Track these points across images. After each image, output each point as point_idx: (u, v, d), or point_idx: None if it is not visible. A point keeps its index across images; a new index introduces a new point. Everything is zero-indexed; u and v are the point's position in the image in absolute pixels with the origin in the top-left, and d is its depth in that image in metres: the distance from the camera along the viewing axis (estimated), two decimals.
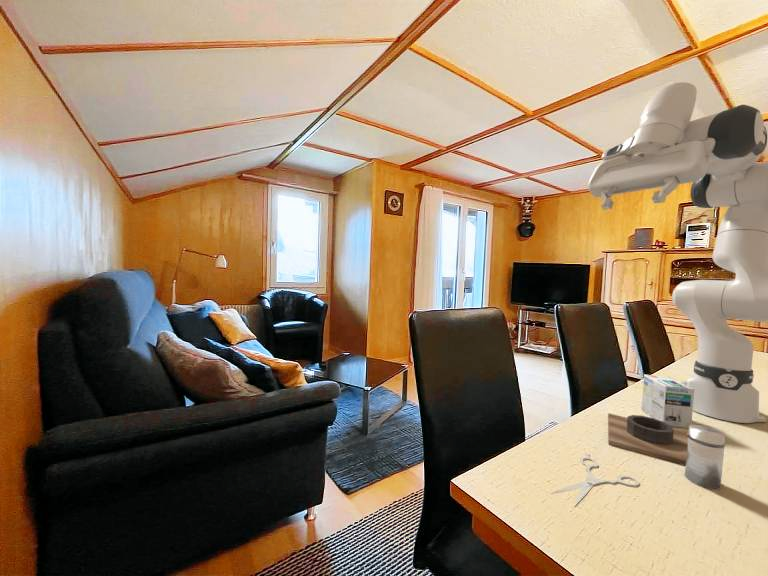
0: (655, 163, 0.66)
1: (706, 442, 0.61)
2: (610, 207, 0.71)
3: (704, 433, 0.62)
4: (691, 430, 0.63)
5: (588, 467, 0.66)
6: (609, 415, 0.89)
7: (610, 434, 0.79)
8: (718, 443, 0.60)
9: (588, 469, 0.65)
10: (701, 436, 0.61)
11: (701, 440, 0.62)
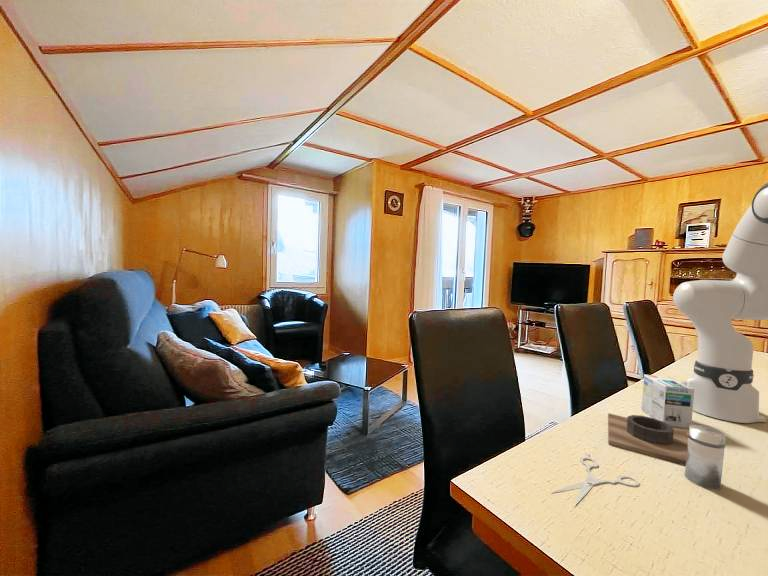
0: None
1: (706, 442, 0.61)
2: None
3: (705, 433, 0.62)
4: (691, 430, 0.63)
5: (588, 467, 0.66)
6: (609, 415, 0.89)
7: (610, 434, 0.79)
8: (718, 443, 0.60)
9: (588, 469, 0.65)
10: (702, 436, 0.61)
11: (701, 440, 0.61)
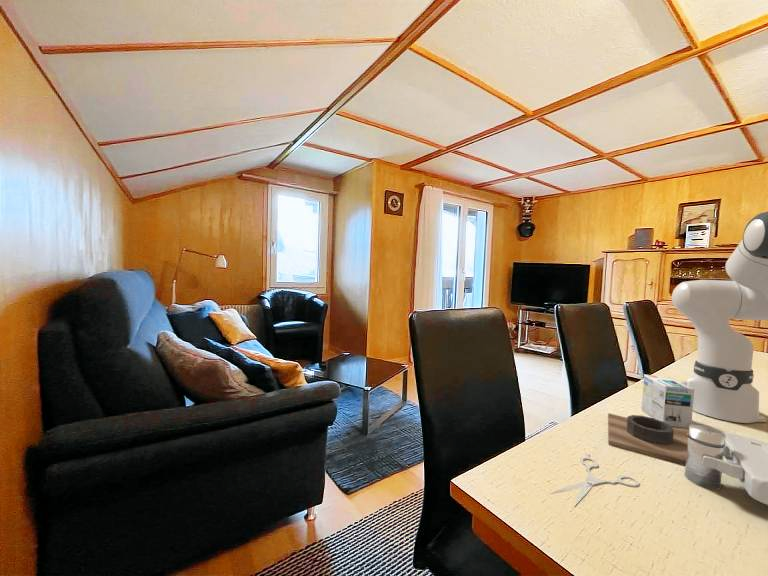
0: None
1: (706, 442, 0.61)
2: None
3: (705, 432, 0.62)
4: (691, 430, 0.63)
5: (588, 467, 0.66)
6: (609, 415, 0.89)
7: (610, 434, 0.79)
8: (718, 443, 0.60)
9: (588, 469, 0.65)
10: (702, 436, 0.61)
11: (701, 440, 0.61)
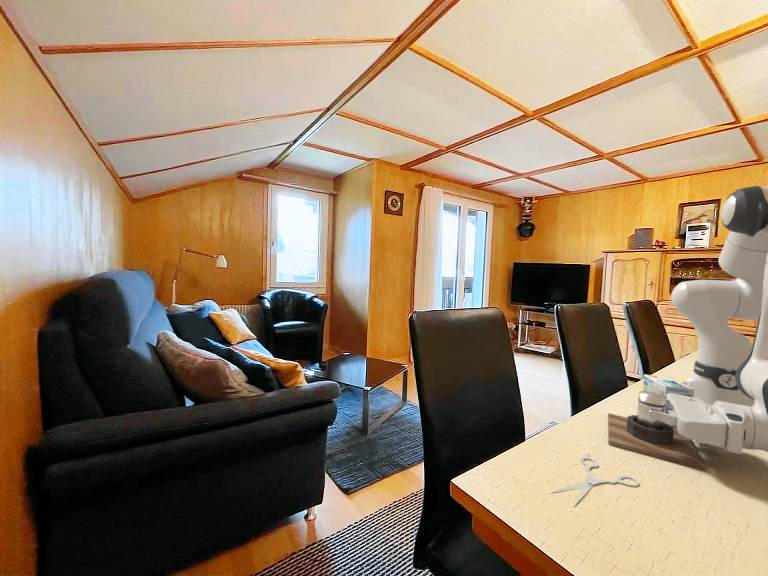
0: None
1: (651, 403, 0.76)
2: None
3: (650, 396, 0.77)
4: (640, 394, 0.79)
5: (588, 467, 0.66)
6: (609, 415, 0.89)
7: (610, 434, 0.79)
8: (660, 403, 0.76)
9: (588, 469, 0.65)
10: (648, 398, 0.77)
11: (647, 402, 0.77)
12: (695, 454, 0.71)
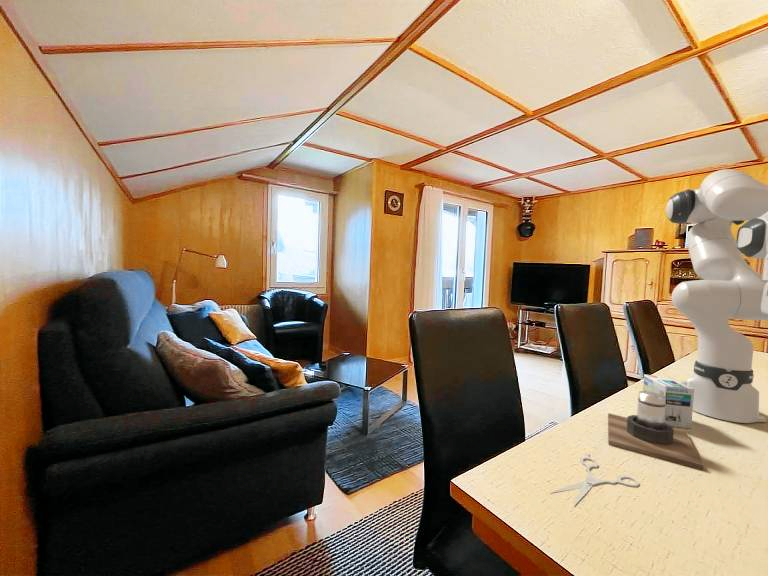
0: None
1: (651, 403, 0.76)
2: None
3: (650, 396, 0.77)
4: (640, 394, 0.79)
5: (588, 467, 0.66)
6: (609, 415, 0.89)
7: (610, 434, 0.79)
8: (660, 403, 0.76)
9: (588, 469, 0.65)
10: (647, 398, 0.77)
11: (647, 401, 0.77)
12: (695, 454, 0.71)
